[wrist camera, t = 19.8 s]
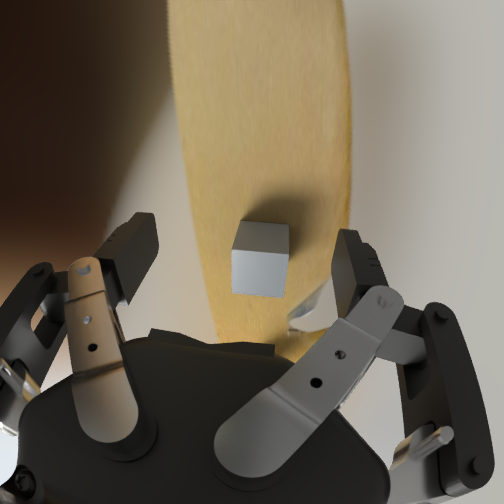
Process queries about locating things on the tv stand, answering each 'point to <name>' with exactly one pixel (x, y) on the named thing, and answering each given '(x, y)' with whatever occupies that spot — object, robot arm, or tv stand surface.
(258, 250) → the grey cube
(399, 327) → the robot arm
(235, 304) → the tv stand surface
